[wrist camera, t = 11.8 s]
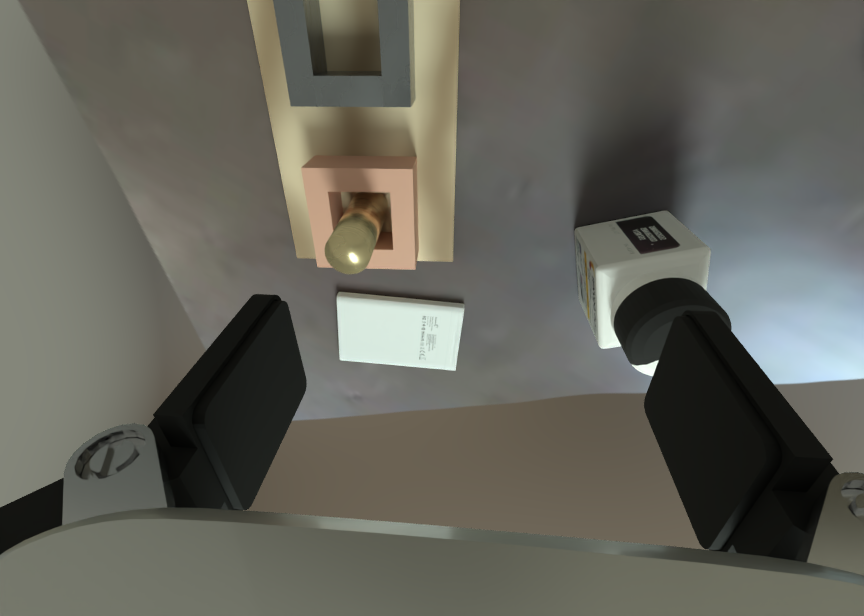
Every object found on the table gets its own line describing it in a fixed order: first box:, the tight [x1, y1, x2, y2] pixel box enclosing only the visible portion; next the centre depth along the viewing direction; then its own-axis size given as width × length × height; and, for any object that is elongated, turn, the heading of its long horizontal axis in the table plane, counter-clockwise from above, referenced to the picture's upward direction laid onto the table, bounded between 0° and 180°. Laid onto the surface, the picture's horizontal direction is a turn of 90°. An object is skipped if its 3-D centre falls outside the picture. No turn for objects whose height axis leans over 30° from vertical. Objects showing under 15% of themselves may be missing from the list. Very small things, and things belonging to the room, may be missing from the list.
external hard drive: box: [337, 292, 464, 370], centre depth 44 cm, size 2×8×12 cm
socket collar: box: [301, 155, 419, 270], centre depth 34 cm, size 8×8×4 cm
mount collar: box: [273, 0, 416, 107], centre depth 27 cm, size 8×8×4 cm
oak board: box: [247, 0, 460, 262], centre depth 33 cm, size 14×22×2 cm, turn 0°
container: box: [574, 211, 731, 376], centre depth 33 cm, size 8×8×13 cm
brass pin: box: [325, 192, 388, 274], centre depth 32 cm, size 3×3×9 cm
